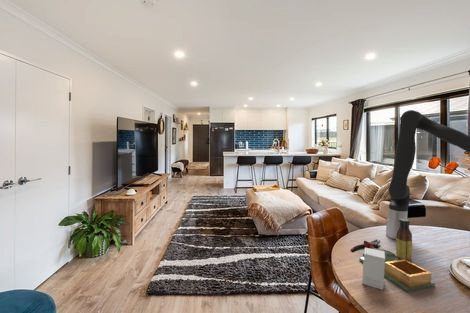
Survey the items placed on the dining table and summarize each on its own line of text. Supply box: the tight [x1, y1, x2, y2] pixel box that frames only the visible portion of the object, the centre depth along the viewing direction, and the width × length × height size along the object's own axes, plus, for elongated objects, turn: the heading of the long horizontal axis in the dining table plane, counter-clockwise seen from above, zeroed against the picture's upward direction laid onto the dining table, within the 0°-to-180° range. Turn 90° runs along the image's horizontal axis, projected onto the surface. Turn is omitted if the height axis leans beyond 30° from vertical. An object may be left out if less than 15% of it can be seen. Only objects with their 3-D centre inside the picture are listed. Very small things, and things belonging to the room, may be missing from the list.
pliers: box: [350, 238, 381, 257], centre depth 126 cm, size 3×9×22 cm
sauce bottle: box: [395, 218, 413, 263], centre depth 114 cm, size 7×6×20 cm
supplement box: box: [361, 247, 385, 291], centre depth 95 cm, size 7×7×13 cm
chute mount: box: [359, 248, 436, 293], centre depth 103 cm, size 24×14×6 cm, turn 14°
